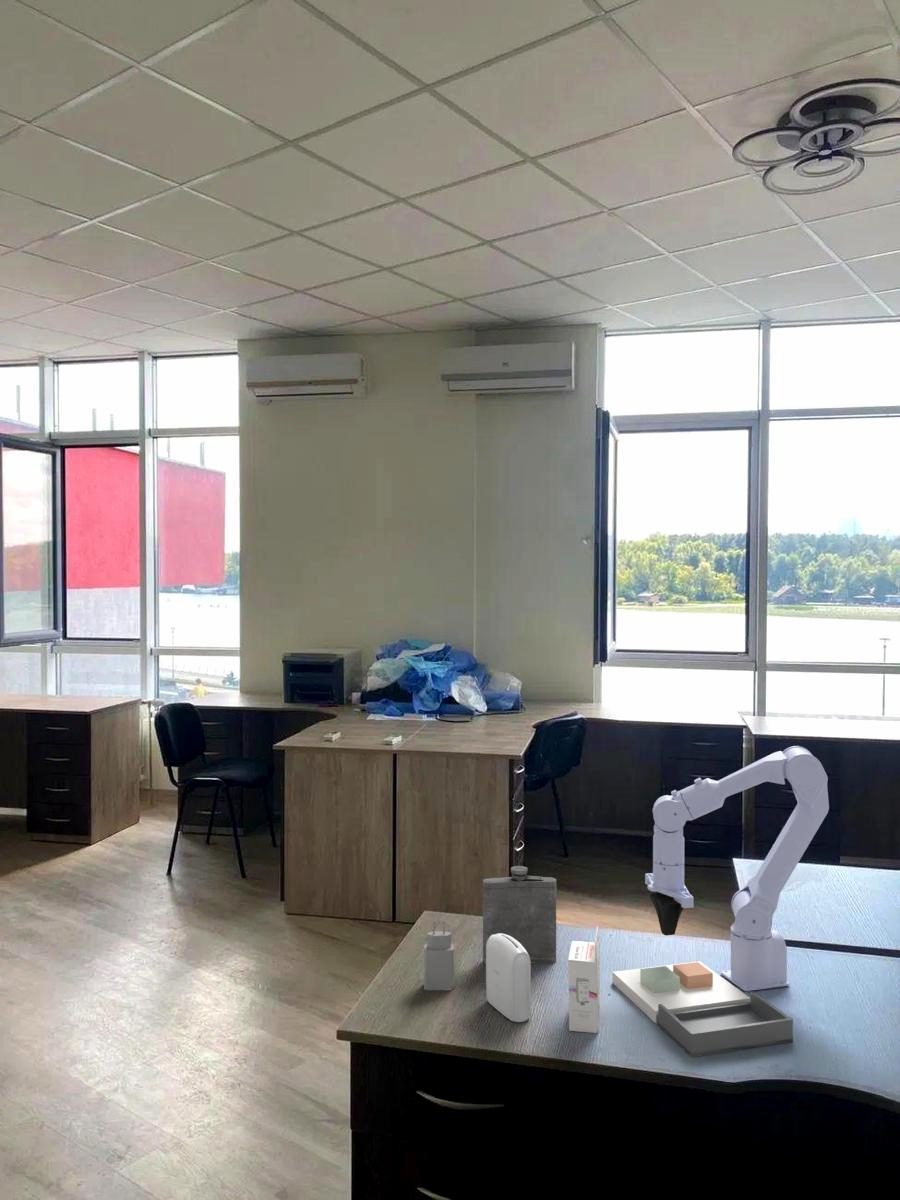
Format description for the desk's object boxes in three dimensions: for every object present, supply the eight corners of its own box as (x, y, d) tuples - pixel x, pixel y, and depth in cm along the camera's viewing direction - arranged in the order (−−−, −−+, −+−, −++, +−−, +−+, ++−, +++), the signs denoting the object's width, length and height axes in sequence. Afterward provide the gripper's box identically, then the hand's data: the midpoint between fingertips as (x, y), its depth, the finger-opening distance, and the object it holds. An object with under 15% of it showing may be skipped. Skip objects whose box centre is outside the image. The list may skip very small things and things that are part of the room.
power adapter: (424, 982, 161) (424, 917, 161) (453, 982, 161) (453, 917, 162) (423, 990, 158) (423, 923, 158) (454, 990, 158) (454, 923, 158)
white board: (699, 971, 166) (699, 961, 166) (750, 1009, 151) (750, 998, 151) (612, 982, 161) (612, 971, 161) (655, 1023, 146) (655, 1011, 146)
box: (751, 1010, 151) (751, 990, 151) (792, 1041, 140) (792, 1019, 140) (656, 1024, 146) (656, 1002, 146) (691, 1057, 135) (691, 1034, 135)
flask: (481, 957, 173) (481, 865, 173) (553, 955, 174) (554, 864, 174) (483, 965, 169) (483, 871, 169) (557, 963, 170) (557, 870, 170)
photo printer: (482, 1000, 154) (482, 929, 154) (504, 995, 156) (504, 925, 156) (512, 1025, 145) (512, 950, 145) (534, 1020, 147) (534, 946, 147)
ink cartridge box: (570, 1007, 152) (571, 922, 152) (600, 1010, 151) (600, 924, 151) (567, 1031, 143) (567, 940, 143) (598, 1034, 142) (598, 943, 142)
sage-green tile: (665, 978, 159) (665, 965, 159) (679, 989, 154) (679, 977, 154) (640, 981, 157) (640, 969, 157) (654, 993, 153) (654, 980, 153)
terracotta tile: (697, 974, 161) (697, 962, 161) (712, 985, 156) (712, 973, 156) (672, 977, 159) (673, 965, 159) (687, 989, 154) (687, 976, 154)
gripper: (631, 852, 172) (630, 922, 172) (669, 874, 158) (668, 950, 158) (663, 849, 173) (663, 918, 173) (704, 871, 160) (703, 946, 160)
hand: (668, 933), depth 166 cm, fingers closed
